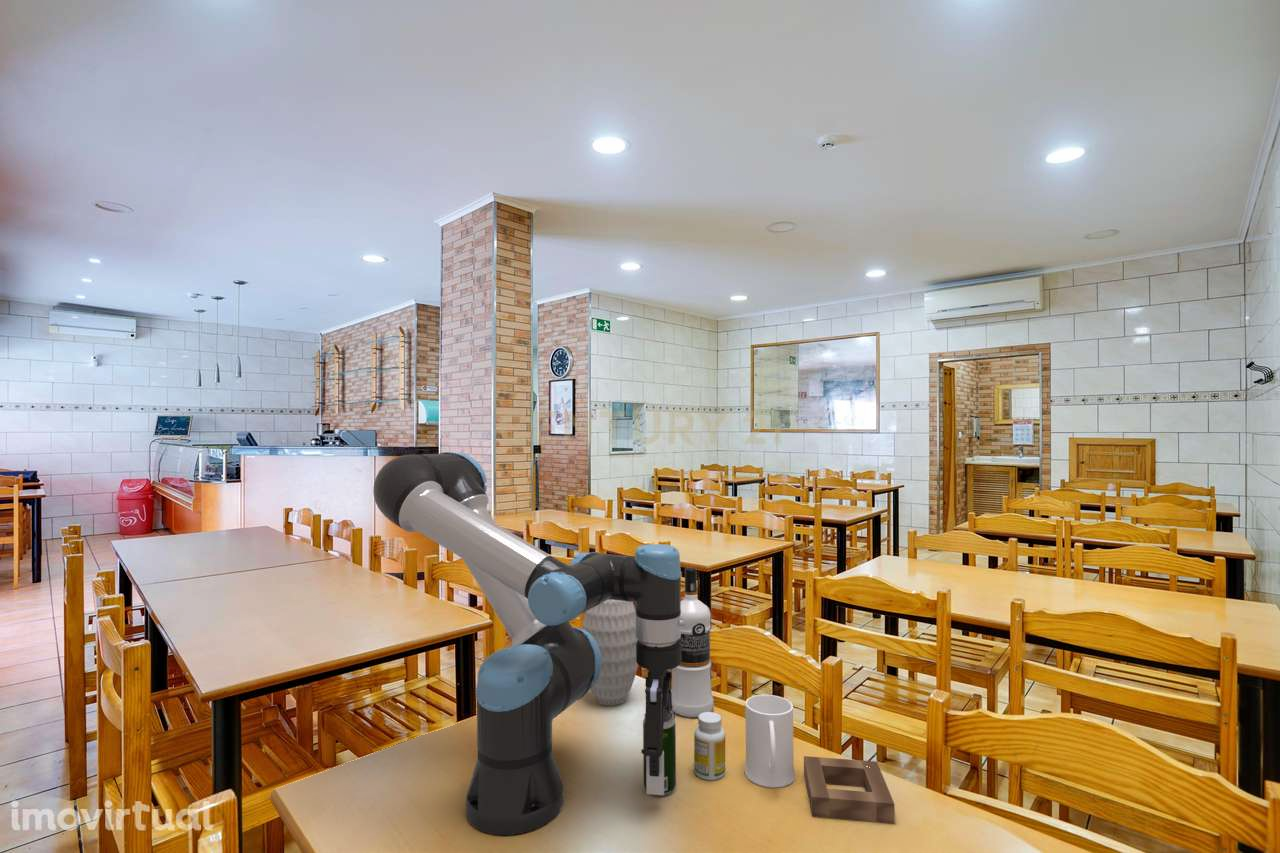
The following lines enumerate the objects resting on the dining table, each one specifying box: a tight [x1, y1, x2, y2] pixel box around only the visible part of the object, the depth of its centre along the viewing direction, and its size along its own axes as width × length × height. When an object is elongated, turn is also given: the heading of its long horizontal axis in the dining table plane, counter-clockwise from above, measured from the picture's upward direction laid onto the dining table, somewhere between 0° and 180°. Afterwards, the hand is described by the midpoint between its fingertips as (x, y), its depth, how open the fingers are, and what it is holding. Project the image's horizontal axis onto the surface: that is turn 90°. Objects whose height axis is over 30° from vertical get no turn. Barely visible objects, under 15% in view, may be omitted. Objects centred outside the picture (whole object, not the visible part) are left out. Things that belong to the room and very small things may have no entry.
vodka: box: [671, 567, 715, 718], centre depth 131 cm, size 9×9×30 cm
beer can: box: [642, 709, 677, 798], centre depth 102 cm, size 5×5×12 cm
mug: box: [744, 694, 796, 789], centre depth 104 cm, size 12×8×12 cm
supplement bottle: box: [693, 711, 726, 781], centre depth 106 cm, size 5×5×10 cm
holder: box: [803, 755, 896, 825], centre depth 99 cm, size 12×12×3 cm
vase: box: [581, 600, 639, 707], centre depth 136 cm, size 13×13×28 cm
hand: (659, 775), depth 102 cm, fingers open, 10 cm apart
